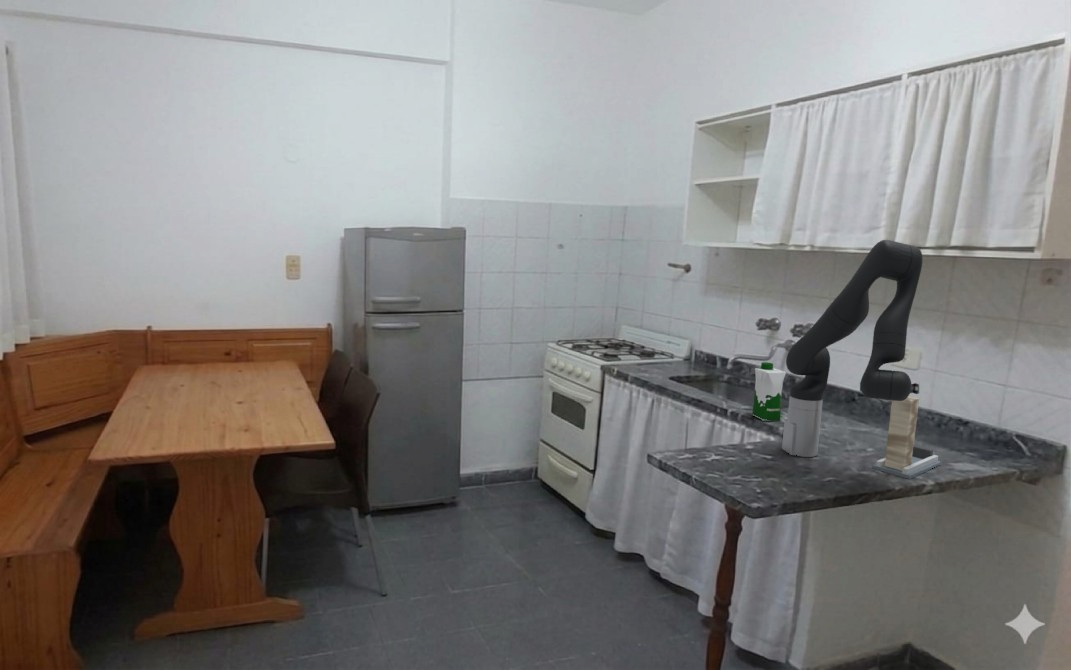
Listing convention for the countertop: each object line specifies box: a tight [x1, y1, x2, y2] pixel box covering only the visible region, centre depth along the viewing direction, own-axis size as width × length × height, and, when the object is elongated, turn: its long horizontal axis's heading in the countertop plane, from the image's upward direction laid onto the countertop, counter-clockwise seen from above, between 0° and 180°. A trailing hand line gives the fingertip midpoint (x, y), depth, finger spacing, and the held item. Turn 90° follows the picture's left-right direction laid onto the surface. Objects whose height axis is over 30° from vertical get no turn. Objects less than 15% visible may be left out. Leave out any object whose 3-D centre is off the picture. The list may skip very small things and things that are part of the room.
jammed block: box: [884, 396, 920, 471], centre depth 183 cm, size 5×5×20 cm
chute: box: [872, 445, 942, 480], centre depth 188 cm, size 21×10×4 cm, turn 128°
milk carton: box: [752, 361, 787, 421], centre depth 235 cm, size 9×9×20 cm
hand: (889, 388), depth 183 cm, fingers open, 8 cm apart
